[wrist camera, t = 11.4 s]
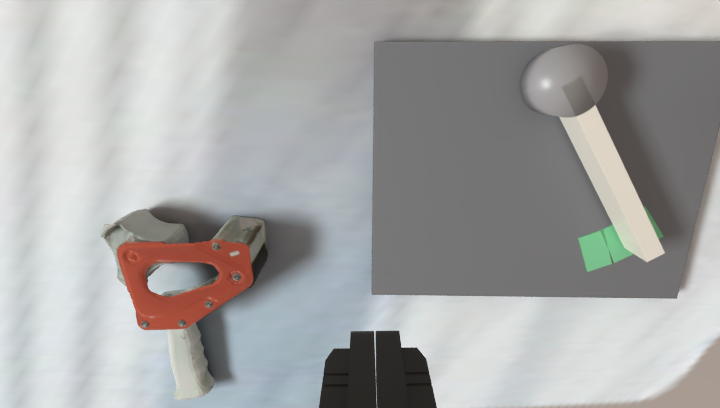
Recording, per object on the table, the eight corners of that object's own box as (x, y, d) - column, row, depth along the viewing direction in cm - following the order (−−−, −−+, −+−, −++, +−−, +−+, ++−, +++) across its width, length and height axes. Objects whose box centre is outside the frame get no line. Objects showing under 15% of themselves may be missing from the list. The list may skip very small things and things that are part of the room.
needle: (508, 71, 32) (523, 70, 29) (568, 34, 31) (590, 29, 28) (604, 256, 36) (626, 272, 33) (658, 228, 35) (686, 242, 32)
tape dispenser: (203, 382, 45) (328, 276, 40) (182, 423, 40) (321, 308, 35) (66, 282, 41) (184, 148, 35) (24, 315, 36) (153, 164, 31)
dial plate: (374, 43, 33) (374, 41, 31) (724, 43, 32) (741, 41, 31) (371, 286, 39) (371, 295, 38) (665, 290, 39) (677, 299, 37)
